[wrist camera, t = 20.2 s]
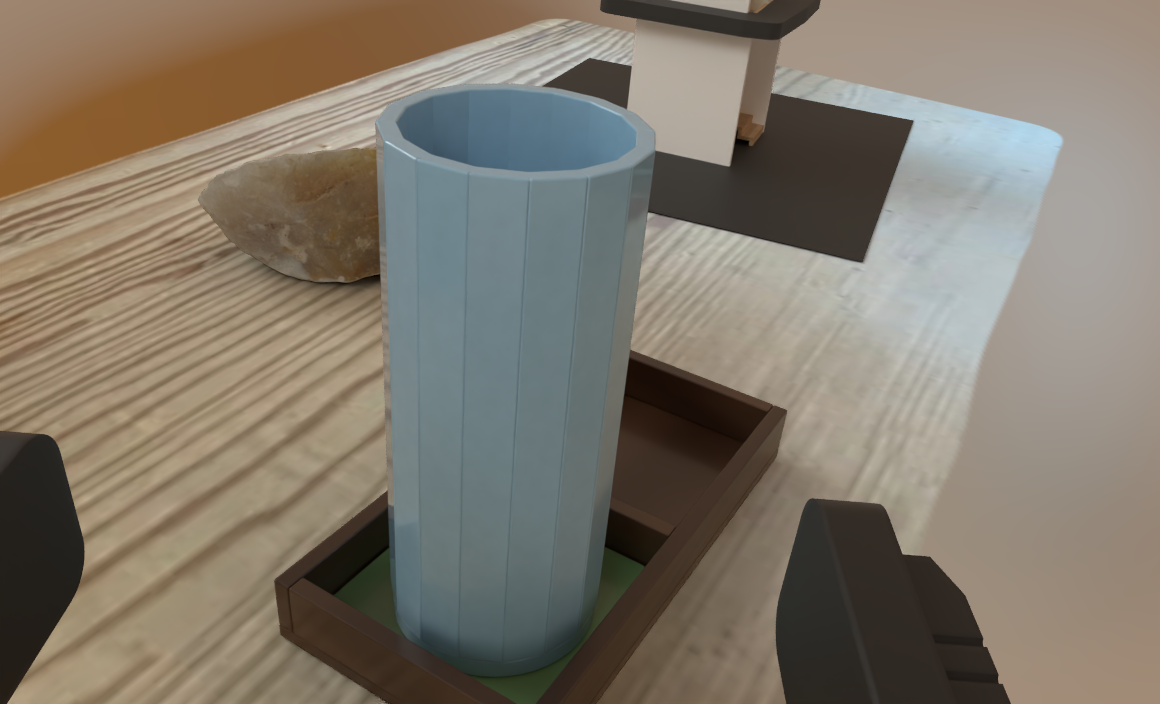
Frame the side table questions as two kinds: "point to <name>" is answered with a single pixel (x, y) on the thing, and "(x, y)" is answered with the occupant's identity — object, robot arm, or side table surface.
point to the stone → (303, 213)
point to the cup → (505, 359)
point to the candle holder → (745, 126)
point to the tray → (630, 561)
